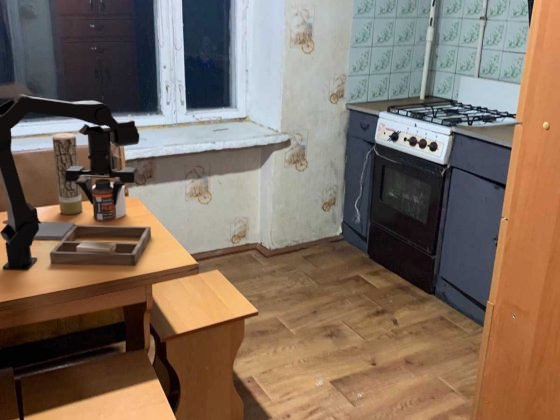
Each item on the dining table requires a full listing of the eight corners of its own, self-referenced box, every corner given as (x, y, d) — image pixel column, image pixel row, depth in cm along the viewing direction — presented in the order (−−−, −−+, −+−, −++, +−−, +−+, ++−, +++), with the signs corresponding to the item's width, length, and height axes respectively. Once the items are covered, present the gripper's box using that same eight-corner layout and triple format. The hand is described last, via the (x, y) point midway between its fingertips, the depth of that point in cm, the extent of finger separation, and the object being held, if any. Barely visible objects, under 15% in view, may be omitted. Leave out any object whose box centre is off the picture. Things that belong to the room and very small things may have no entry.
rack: (135, 265, 155) (134, 255, 154) (50, 263, 155) (49, 253, 154) (151, 236, 174) (150, 226, 172) (75, 234, 173) (74, 224, 172)
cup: (91, 212, 191) (89, 183, 188) (123, 208, 195) (121, 180, 192) (96, 221, 183) (93, 192, 180) (129, 217, 187) (127, 188, 184)
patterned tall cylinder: (75, 216, 187) (68, 138, 179) (56, 214, 189) (47, 137, 180) (86, 209, 194) (79, 133, 185) (67, 207, 195) (59, 132, 186)
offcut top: (109, 255, 155) (108, 249, 155) (76, 252, 156) (76, 246, 156) (116, 248, 159) (115, 243, 159) (84, 245, 160) (83, 240, 160)
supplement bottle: (103, 225, 161) (100, 185, 157) (89, 220, 164) (86, 181, 160) (120, 219, 165) (118, 180, 162) (107, 214, 169) (104, 176, 165)
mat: (62, 239, 170) (62, 236, 169) (23, 238, 169) (23, 235, 169) (74, 225, 180) (74, 222, 180) (38, 224, 180) (38, 221, 179)
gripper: (141, 143, 166) (144, 195, 171) (74, 141, 165) (79, 194, 171) (132, 152, 155) (135, 209, 160) (60, 151, 155) (66, 207, 160)
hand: (104, 204), depth 163 cm, fingers closed on supplement bottle, 6 cm apart
